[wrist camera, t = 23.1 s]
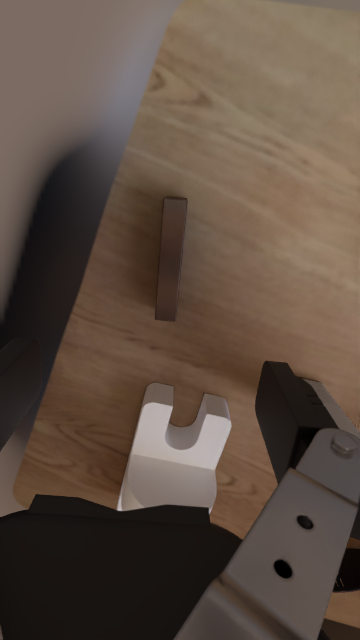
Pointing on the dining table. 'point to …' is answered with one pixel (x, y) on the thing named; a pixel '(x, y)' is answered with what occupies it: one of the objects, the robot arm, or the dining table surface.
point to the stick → (170, 257)
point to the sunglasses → (348, 572)
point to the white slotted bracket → (174, 453)
